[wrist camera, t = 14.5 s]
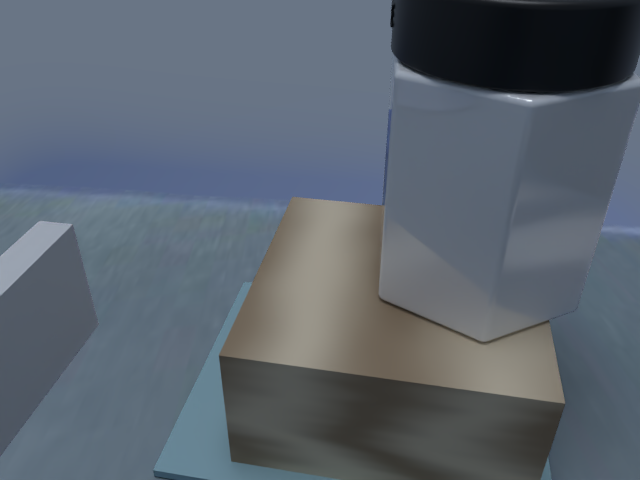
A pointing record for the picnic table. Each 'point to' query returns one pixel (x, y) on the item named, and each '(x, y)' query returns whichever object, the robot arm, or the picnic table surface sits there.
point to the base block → (375, 370)
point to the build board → (217, 429)
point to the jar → (502, 155)
